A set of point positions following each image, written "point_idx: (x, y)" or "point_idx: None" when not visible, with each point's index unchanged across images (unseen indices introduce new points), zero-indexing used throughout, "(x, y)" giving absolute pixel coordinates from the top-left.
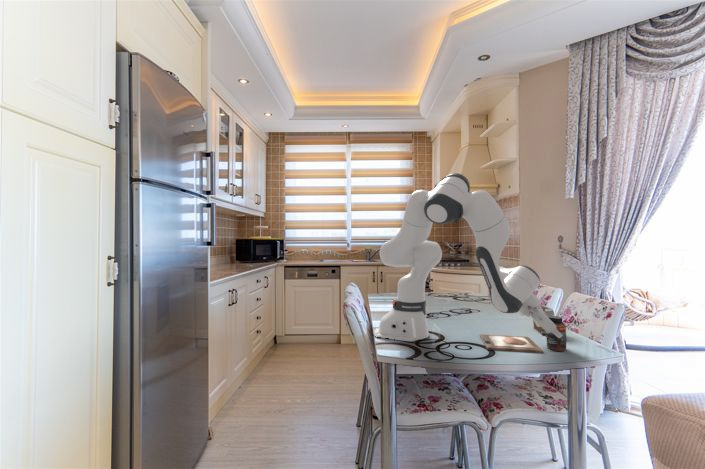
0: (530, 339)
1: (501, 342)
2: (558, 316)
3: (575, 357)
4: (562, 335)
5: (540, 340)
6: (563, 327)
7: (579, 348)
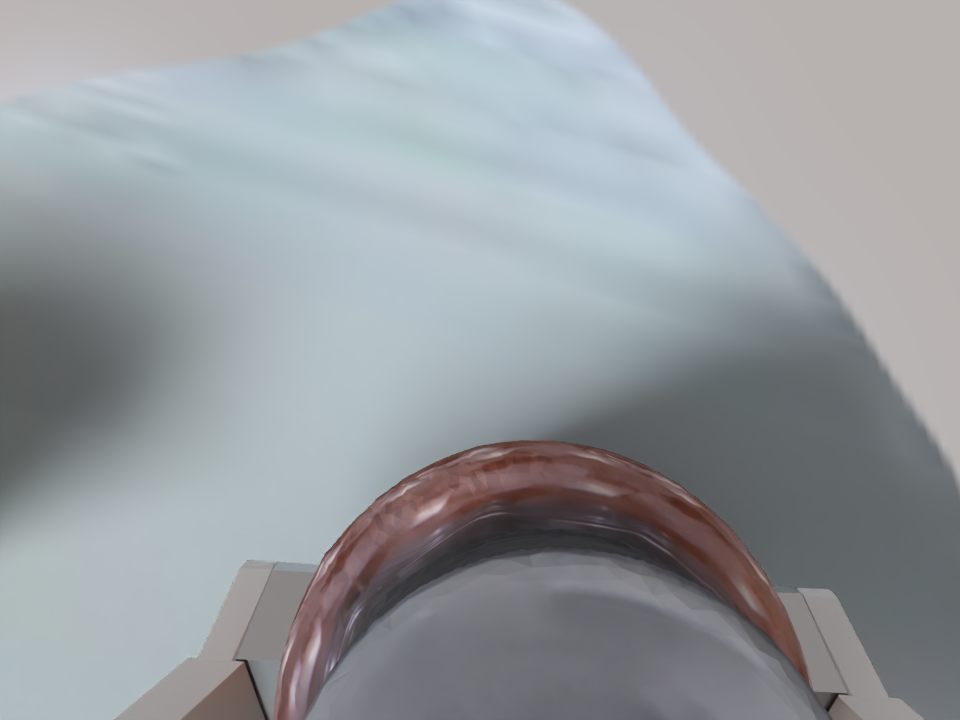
0: None
1: None
2: (436, 688)
3: (794, 431)
4: (826, 590)
5: None
6: (741, 543)
7: (393, 279)
